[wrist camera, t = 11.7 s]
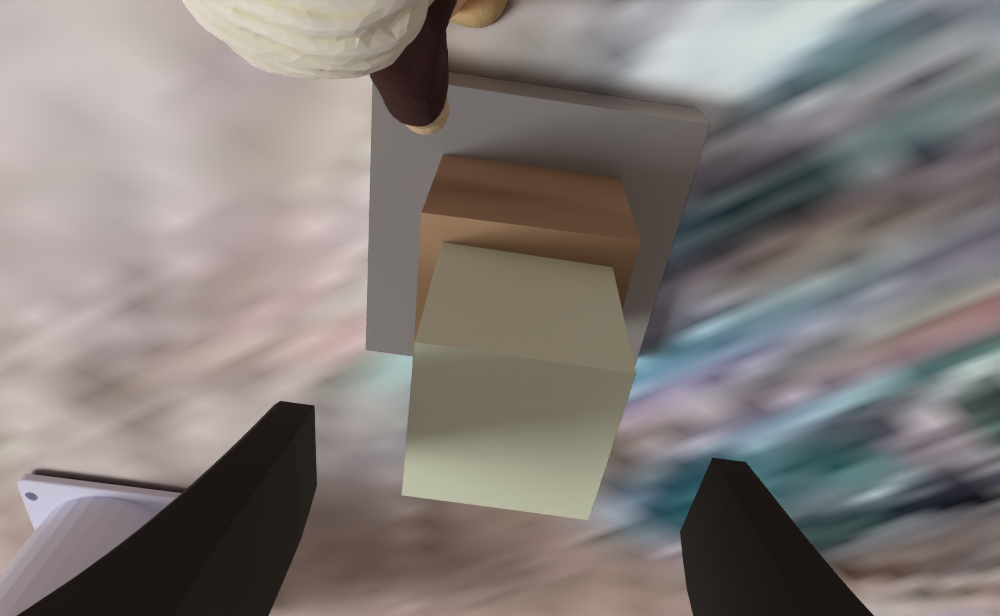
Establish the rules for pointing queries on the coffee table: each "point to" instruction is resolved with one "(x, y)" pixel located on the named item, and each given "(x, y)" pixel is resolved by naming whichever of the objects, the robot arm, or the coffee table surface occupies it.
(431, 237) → the walnut block
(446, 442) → the sage block
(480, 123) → the plinth
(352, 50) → the grandmother figurine
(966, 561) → the coffee table surface
